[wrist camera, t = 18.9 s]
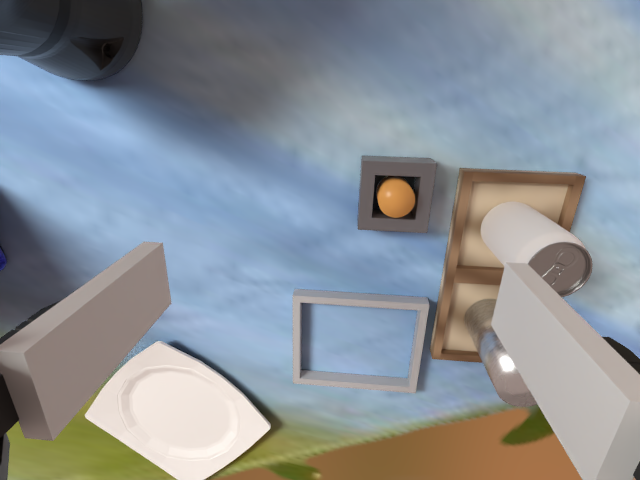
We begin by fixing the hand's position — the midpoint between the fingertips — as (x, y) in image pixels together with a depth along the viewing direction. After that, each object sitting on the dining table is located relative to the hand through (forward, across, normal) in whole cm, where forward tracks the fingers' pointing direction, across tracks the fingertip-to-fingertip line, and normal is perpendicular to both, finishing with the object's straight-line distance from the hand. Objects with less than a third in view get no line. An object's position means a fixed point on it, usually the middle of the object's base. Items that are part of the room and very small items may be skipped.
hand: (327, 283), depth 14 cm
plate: (+32, -25, -43) cm, 59 cm away
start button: (+31, +6, -4) cm, 32 cm away
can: (+31, +20, -8) cm, 38 cm away
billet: (+31, +20, -20) cm, 42 cm away
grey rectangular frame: (+32, +3, -26) cm, 41 cm away
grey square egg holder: (+32, +6, -4) cm, 33 cm away
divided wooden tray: (+32, +20, -14) cm, 40 cm away
